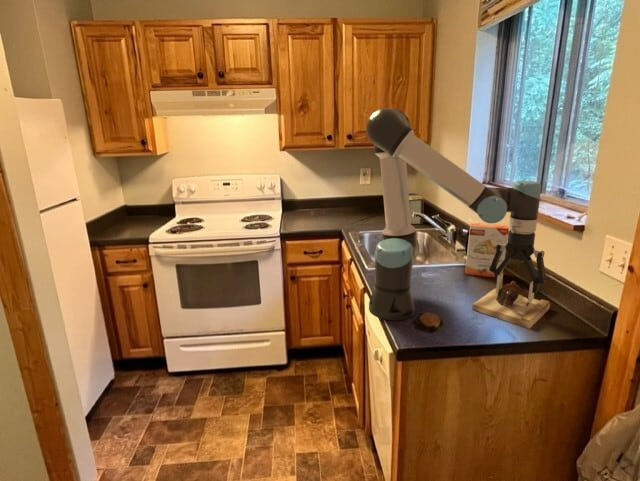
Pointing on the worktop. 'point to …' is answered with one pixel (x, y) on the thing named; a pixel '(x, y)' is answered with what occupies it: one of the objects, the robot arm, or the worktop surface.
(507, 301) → the pottery mug
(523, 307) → the folded beige towel
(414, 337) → the worktop surface
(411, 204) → the protein box
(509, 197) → the robot arm
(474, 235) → the cracker box
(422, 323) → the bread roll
